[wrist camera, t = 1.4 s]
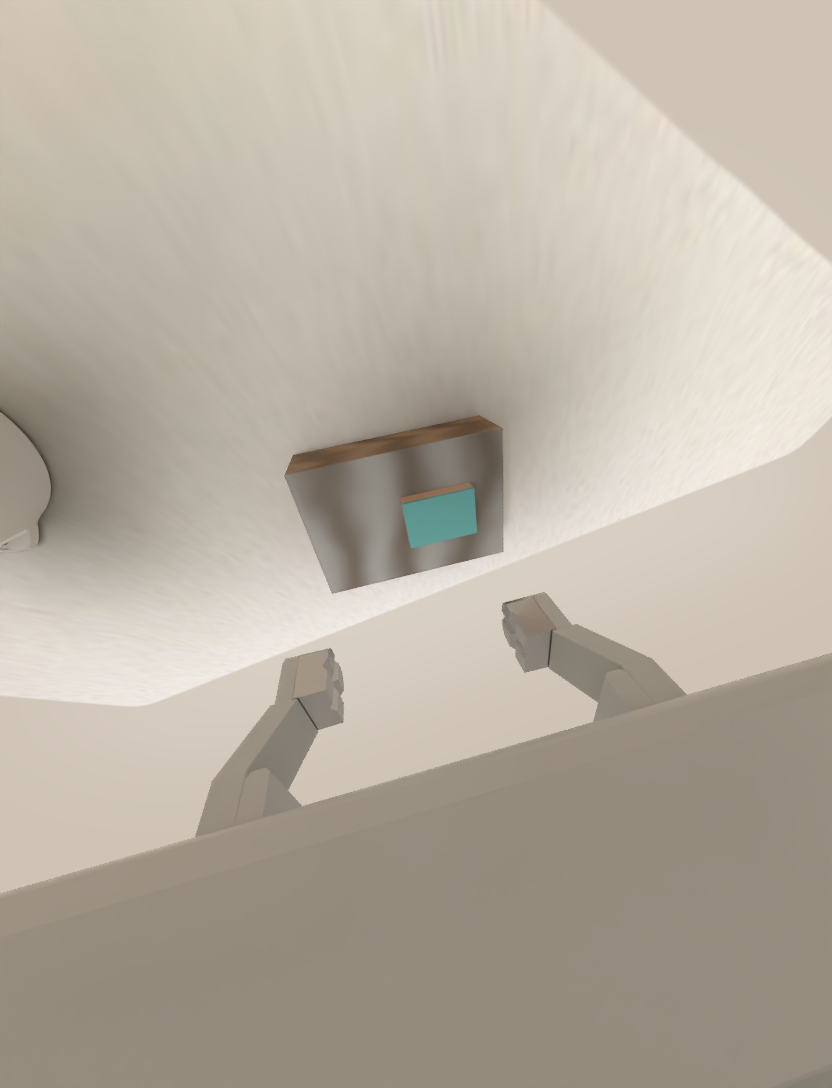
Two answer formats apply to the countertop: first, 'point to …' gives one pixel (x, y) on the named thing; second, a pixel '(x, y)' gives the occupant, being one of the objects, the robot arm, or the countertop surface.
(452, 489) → the tile
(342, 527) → the board
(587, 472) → the countertop surface
